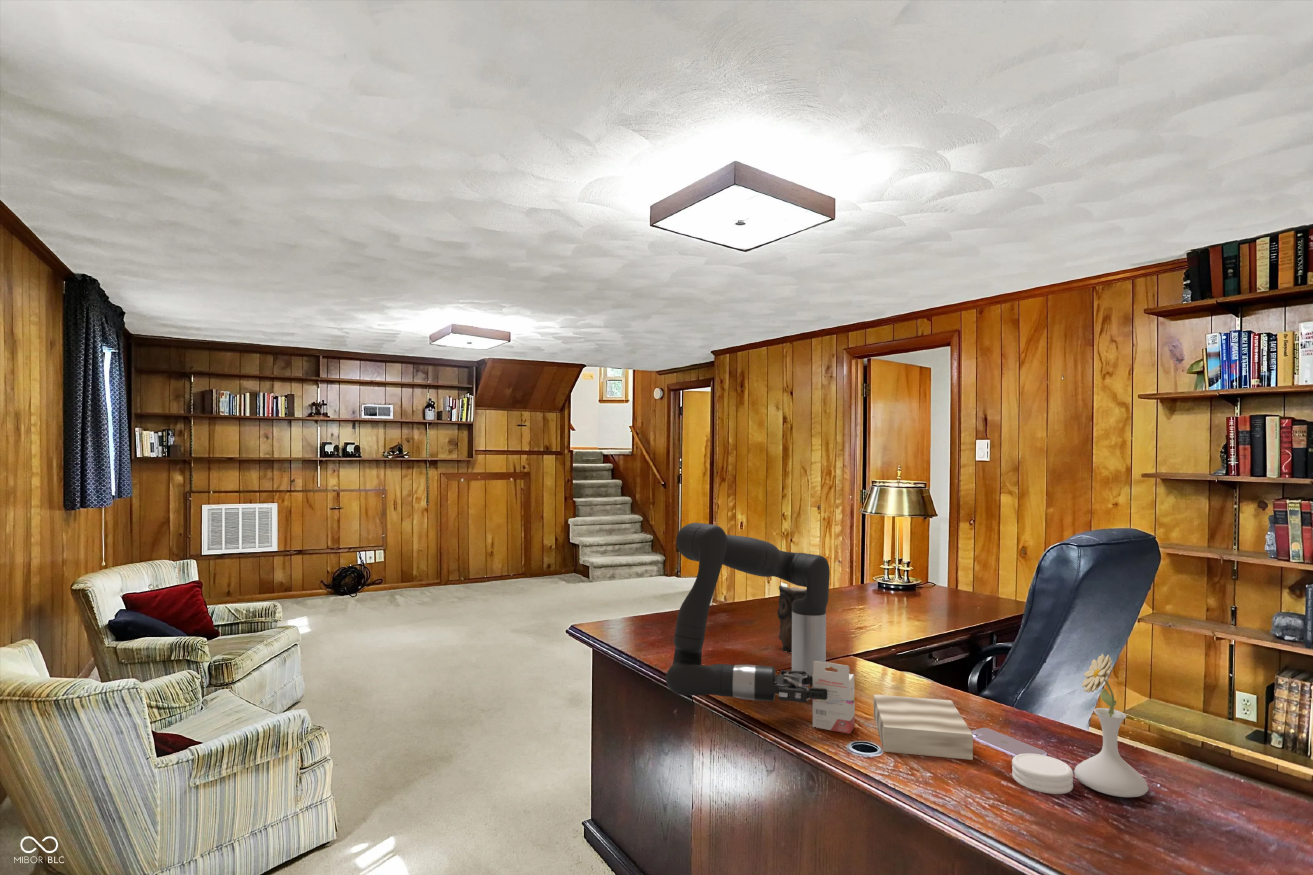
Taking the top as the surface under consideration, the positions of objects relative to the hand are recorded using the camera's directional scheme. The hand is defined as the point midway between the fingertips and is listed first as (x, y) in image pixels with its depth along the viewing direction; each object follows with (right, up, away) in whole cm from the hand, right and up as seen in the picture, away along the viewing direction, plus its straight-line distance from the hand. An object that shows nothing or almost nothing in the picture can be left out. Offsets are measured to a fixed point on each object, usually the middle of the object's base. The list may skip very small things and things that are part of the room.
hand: (826, 687), depth 155 cm
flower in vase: (+45, -8, -29) cm, 54 cm away
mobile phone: (+35, -9, -9) cm, 38 cm away
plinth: (+19, -9, -5) cm, 21 cm away
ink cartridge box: (+1, -9, -1) cm, 9 cm away
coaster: (+34, -9, -26) cm, 43 cm away
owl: (+8, -11, +60) cm, 62 cm away
